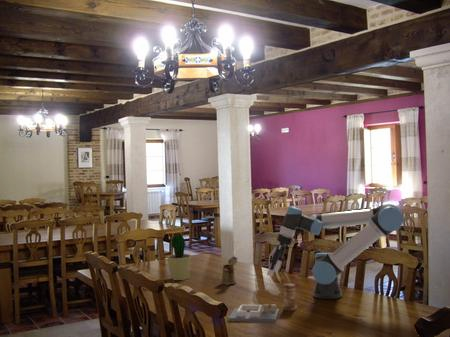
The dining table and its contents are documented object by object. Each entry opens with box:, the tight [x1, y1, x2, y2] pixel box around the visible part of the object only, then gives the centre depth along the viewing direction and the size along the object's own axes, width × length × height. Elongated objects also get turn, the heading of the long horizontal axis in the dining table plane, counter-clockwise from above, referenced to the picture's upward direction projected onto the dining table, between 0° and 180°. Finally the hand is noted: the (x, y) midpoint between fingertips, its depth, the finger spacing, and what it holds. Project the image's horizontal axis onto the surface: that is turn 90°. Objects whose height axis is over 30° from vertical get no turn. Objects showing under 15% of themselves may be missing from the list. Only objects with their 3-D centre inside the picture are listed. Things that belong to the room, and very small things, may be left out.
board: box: [227, 303, 280, 324], centre depth 231 cm, size 22×16×4 cm
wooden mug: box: [220, 256, 238, 286], centre depth 294 cm, size 9×14×18 cm, turn 26°
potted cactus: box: [166, 232, 192, 281], centre depth 315 cm, size 15×15×30 cm
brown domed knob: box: [283, 283, 298, 312], centre depth 240 cm, size 7×7×12 cm
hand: (272, 273), depth 253 cm, fingers open, 13 cm apart
